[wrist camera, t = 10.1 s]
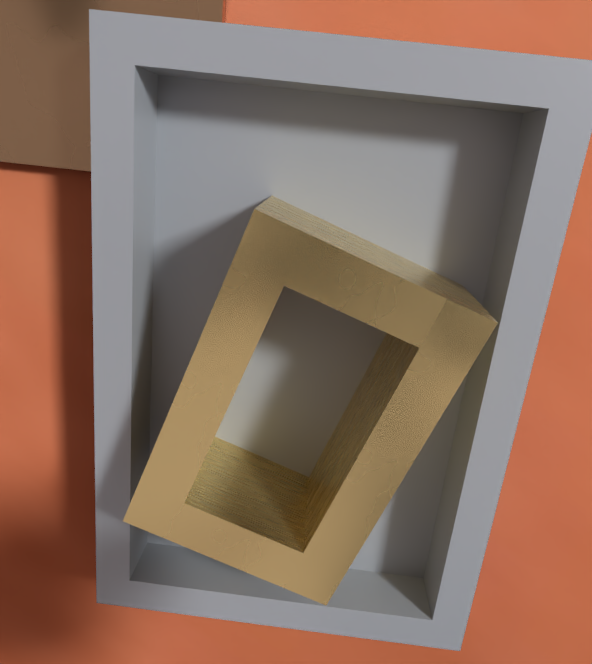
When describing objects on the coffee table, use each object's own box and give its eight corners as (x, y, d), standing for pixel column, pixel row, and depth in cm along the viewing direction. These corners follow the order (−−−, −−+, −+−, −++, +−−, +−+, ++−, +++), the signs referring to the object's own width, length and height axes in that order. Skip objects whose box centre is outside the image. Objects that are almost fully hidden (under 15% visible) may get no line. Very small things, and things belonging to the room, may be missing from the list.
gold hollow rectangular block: (271, 195, 15) (254, 208, 11) (462, 285, 15) (497, 322, 12) (140, 501, 18) (98, 579, 15) (300, 568, 18) (294, 658, 15)
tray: (446, 595, 19) (459, 650, 17) (122, 553, 19) (96, 602, 17) (567, 75, 14) (609, 61, 12) (125, 29, 14) (89, 9, 12)
